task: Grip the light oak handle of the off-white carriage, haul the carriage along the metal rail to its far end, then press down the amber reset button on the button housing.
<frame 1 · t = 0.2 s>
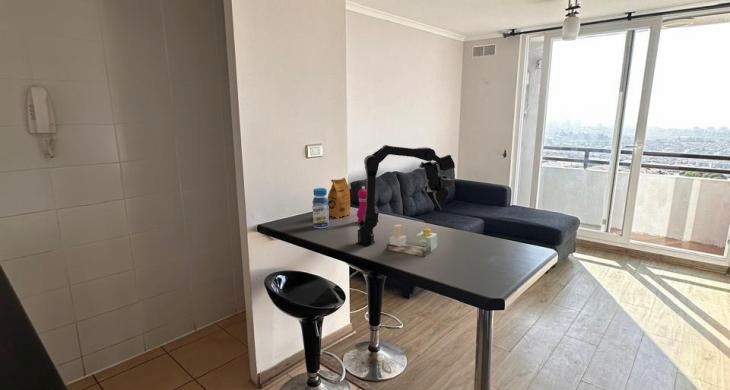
hand: (439, 207, 177), 15 cm above the table, tool pointing down, fingers open, 9 cm apart
beverage bottle: (321, 226, 204), on the table
rail: (408, 250, 165), on the table
carriage: (398, 234, 167), point 6 cm above the table, slide at -5.0 cm
pepper mill: (363, 222, 211), on the table
reset button: (426, 235, 168), point 6 cm above the table, slide at 0.0 cm
coffee package: (339, 216, 226), on the table
button housing: (426, 247, 169), on the table
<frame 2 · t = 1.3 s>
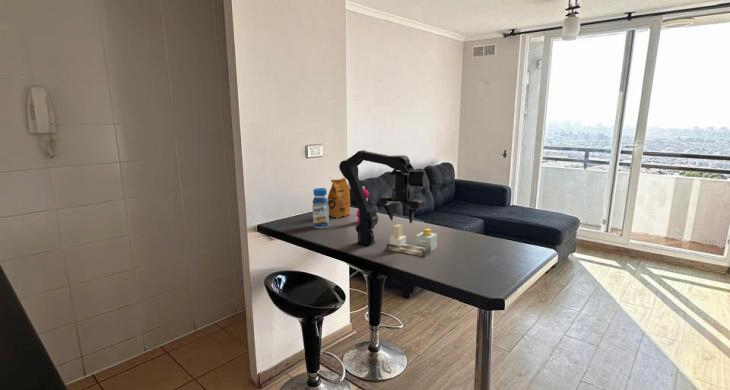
hand: (401, 221, 166), 12 cm above the table, tool pointing down, fingers open, 9 cm apart
nothing on the table moved.
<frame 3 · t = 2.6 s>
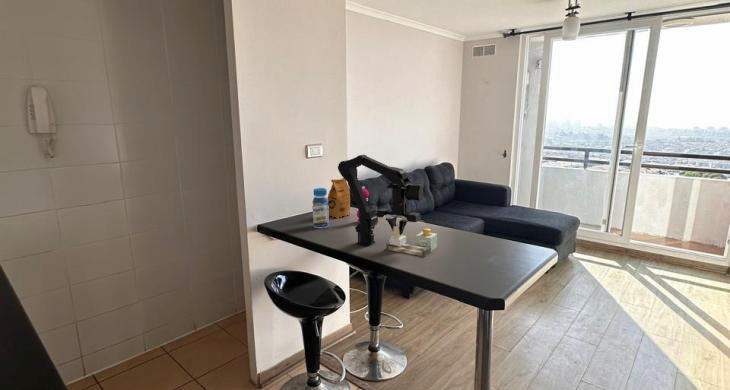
hand: (398, 234, 167), 7 cm above the table, tool pointing down, fingers closed on carriage, 2 cm apart
carriage: (398, 234, 167), point 6 cm above the table, slide at -5.0 cm, touching gripper
everything else where it was.
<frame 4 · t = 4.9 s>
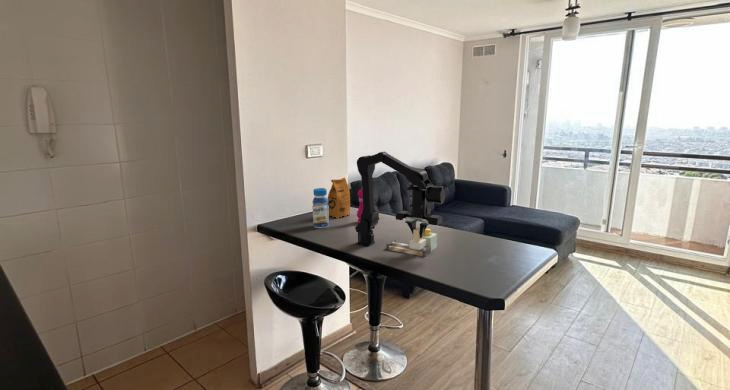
hand: (418, 237, 162), 7 cm above the table, tool pointing down, fingers closed on carriage, 2 cm apart
carriage: (418, 237, 162), point 6 cm above the table, slide at 4.4 cm, touching gripper
everything else where it was.
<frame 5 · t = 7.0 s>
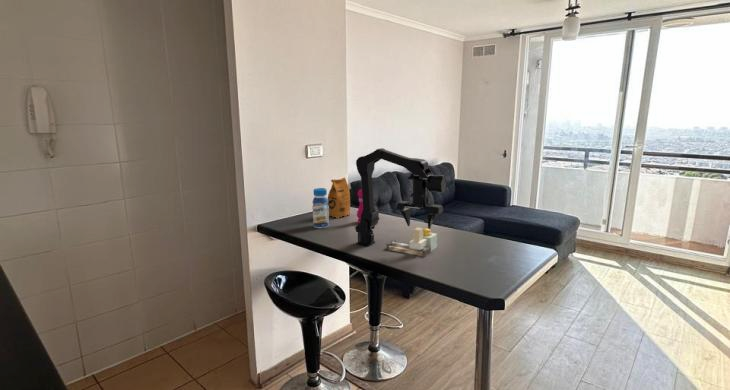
hand: (418, 227, 161), 11 cm above the table, tool pointing down, fingers open, 9 cm apart
carriage: (418, 237, 162), point 6 cm above the table, slide at 4.5 cm
everything else where it was.
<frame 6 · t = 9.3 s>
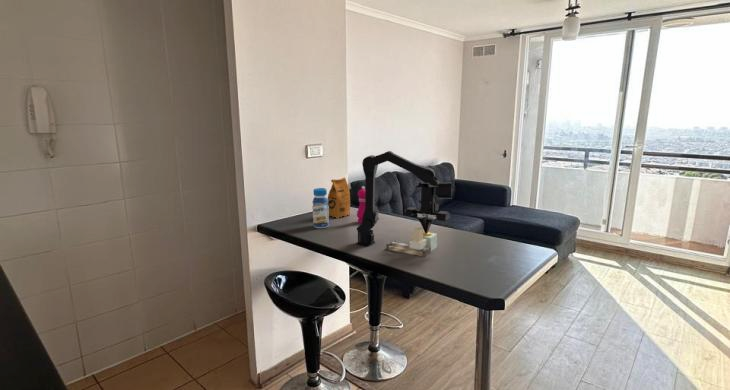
hand: (426, 232, 168), 7 cm above the table, tool pointing down, fingers closed, pressing on reset button
reset button: (426, 238, 168), point 4 cm above the table, slide at 1.6 cm, touching gripper
everything else where it was.
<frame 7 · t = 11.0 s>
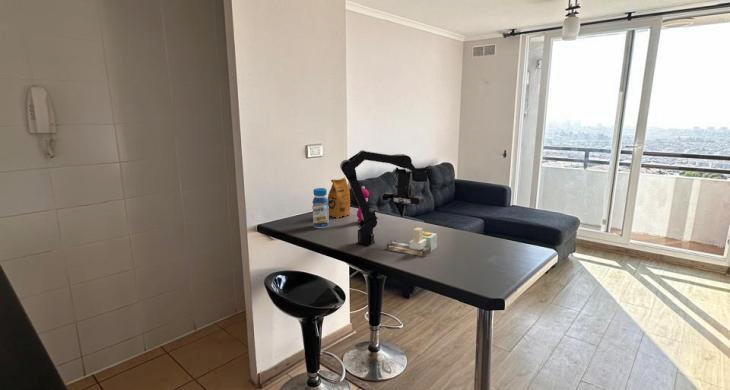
hand: (402, 216, 176), 12 cm above the table, tool pointing down, fingers closed
reset button: (426, 239, 168), point 4 cm above the table, slide at 1.8 cm
everything else where it was.
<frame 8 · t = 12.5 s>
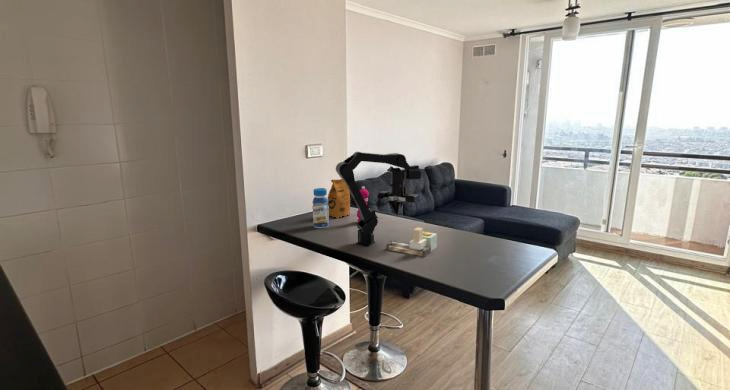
hand: (397, 214, 178), 12 cm above the table, tool pointing down, fingers closed
nothing on the table moved.
at the end: carriage slide at 4.5 cm; reset button slide at 1.8 cm; the gripper is holding nothing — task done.
